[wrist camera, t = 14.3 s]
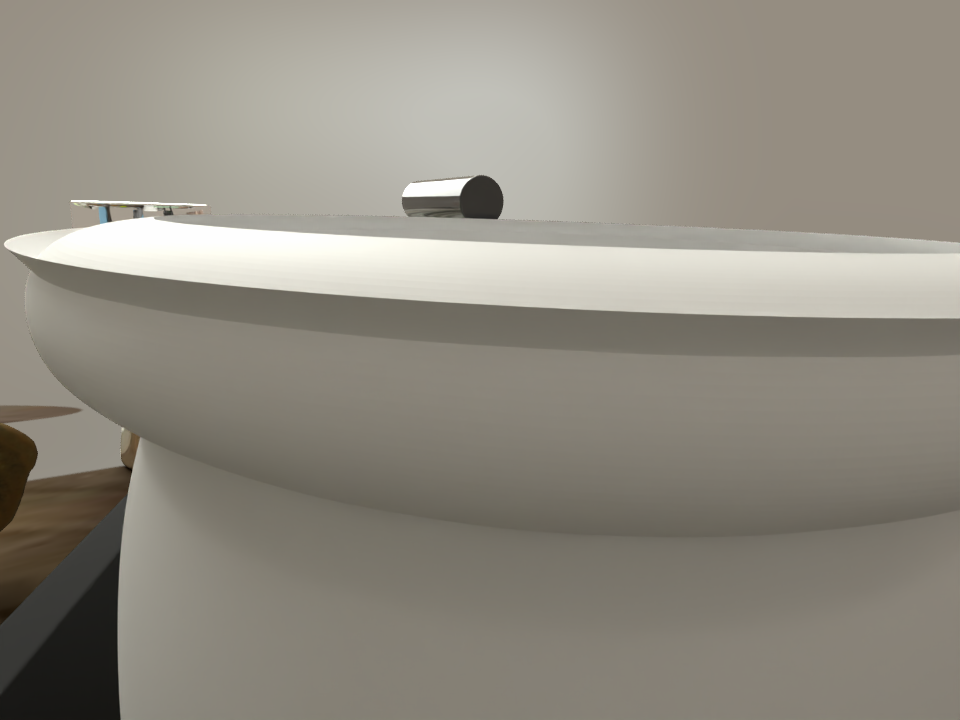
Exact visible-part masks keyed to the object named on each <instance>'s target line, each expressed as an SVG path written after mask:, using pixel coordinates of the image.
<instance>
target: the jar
mask: <svg viewBox="0 0 960 720" xmlns="http://www.w3.org/2000/svg"><path fill="white" fill-rule="evenodd" d="M4 246H5V247H6V248H7V249H8V250H9V251H10V252H11V253H13V254H14V255H15V256H16V257H17V258H18V259H19V260H20V261H21V262H23V263H24V264H25V265H26V266H27V267H28V268H29V269H30V272H29V275H28V278H27V282H26V287H25V297H24V298H25V299H24V303H25V314H26V320H27V324H28V328H29V331H30V334H31V337H32V340H33V342H34V345H35V346H36V349H37V351H38V353H39V355H40V356H41V358H42V360H43V361H44V363H45V364H46V366H47V367H48V368H49V370H50V371H51V372H52V374H53V375H54V376H55V377H56V378H57V379H58V381H60V382H61V384H62V385H63V386H64V387H65V388H67V389H68V390H69V391H70V392H71V393H73V394H74V395H75V396H76V397H77V398H78V399H80V400H81V401H83V402H84V403H85V404H87V405H88V406H89V407H91V408H92V409H94V410H95V411H97V412H99V413H100V414H101V415H103V416H105V417H106V418H108V419H109V420H111V421H113V422H115V423H116V424H118V425H120V426H121V427H123V428H125V429H127V430H129V431H130V432H132V433H134V434H136V435H138V436H140V441H139V445H138V449H137V453H136V457H135V461H134V466H133V470H132V475H131V480H130V485H129V491H128V497H127V503H126V509H125V517H124V524H123V533H122V543H121V554H120V568H119V588H118V679H119V700H120V717H121V720H960V243H954V242H943V241H931V240H918V239H903V238H889V237H874V236H859V235H842V234H825V233H824V234H823V233H806V232H789V231H769V230H750V229H729V228H708V227H686V226H662V225H640V224H639V225H637V224H615V223H589V222H588V223H587V222H561V221H533V220H532V221H531V220H504V219H471V218H436V217H397V216H396V217H394V216H350V215H287V214H285V215H283V214H200V215H170V216H158V217H147V218H138V219H129V220H122V221H115V222H109V223H104V224H100V225H95V226H91V227H87V228H74V229H63V230H53V231H45V232H37V233H31V234H26V235H21V236H17V237H14V238H11V239H9V240H7V241H6V242H5V243H4Z"/></svg>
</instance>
